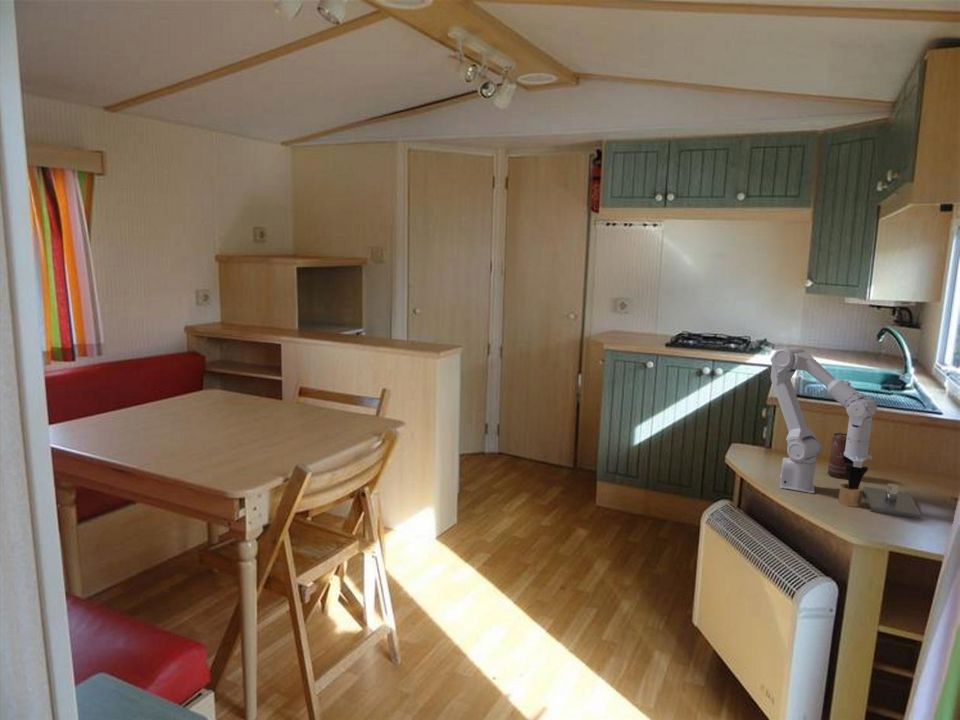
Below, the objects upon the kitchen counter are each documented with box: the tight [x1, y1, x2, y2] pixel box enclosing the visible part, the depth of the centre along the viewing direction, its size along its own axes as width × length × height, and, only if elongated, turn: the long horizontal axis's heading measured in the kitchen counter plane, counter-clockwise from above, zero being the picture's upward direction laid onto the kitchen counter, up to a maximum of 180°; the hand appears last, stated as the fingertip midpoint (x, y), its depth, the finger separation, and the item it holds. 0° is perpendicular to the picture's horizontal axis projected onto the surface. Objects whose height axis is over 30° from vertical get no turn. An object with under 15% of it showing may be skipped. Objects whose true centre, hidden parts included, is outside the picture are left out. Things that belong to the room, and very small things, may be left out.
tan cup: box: [837, 483, 863, 508], centre depth 190 cm, size 6×6×5 cm
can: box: [827, 432, 847, 480], centre depth 213 cm, size 6×6×14 cm
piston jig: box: [862, 482, 922, 521], centre depth 190 cm, size 12×18×6 cm, turn 155°
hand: (851, 484), depth 190 cm, fingers open, 7 cm apart
